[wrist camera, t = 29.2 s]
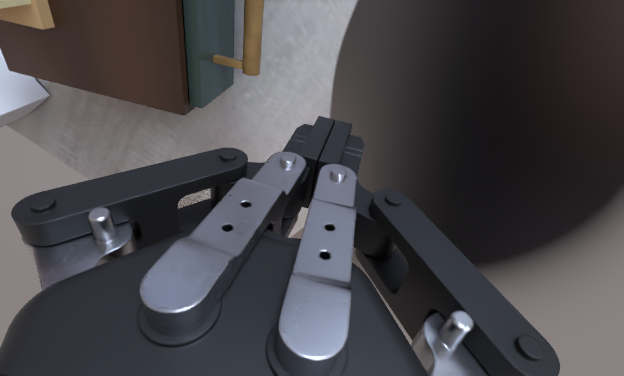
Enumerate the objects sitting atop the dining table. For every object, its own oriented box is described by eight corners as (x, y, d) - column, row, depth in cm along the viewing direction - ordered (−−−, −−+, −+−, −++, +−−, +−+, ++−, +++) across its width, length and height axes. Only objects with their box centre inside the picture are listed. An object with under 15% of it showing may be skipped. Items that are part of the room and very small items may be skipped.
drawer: (285, -68, 27) (254, -72, 22) (271, 93, 36) (246, 120, 30) (55, -112, 29) (-27, -126, 24) (92, 50, 38) (37, 67, 32)
